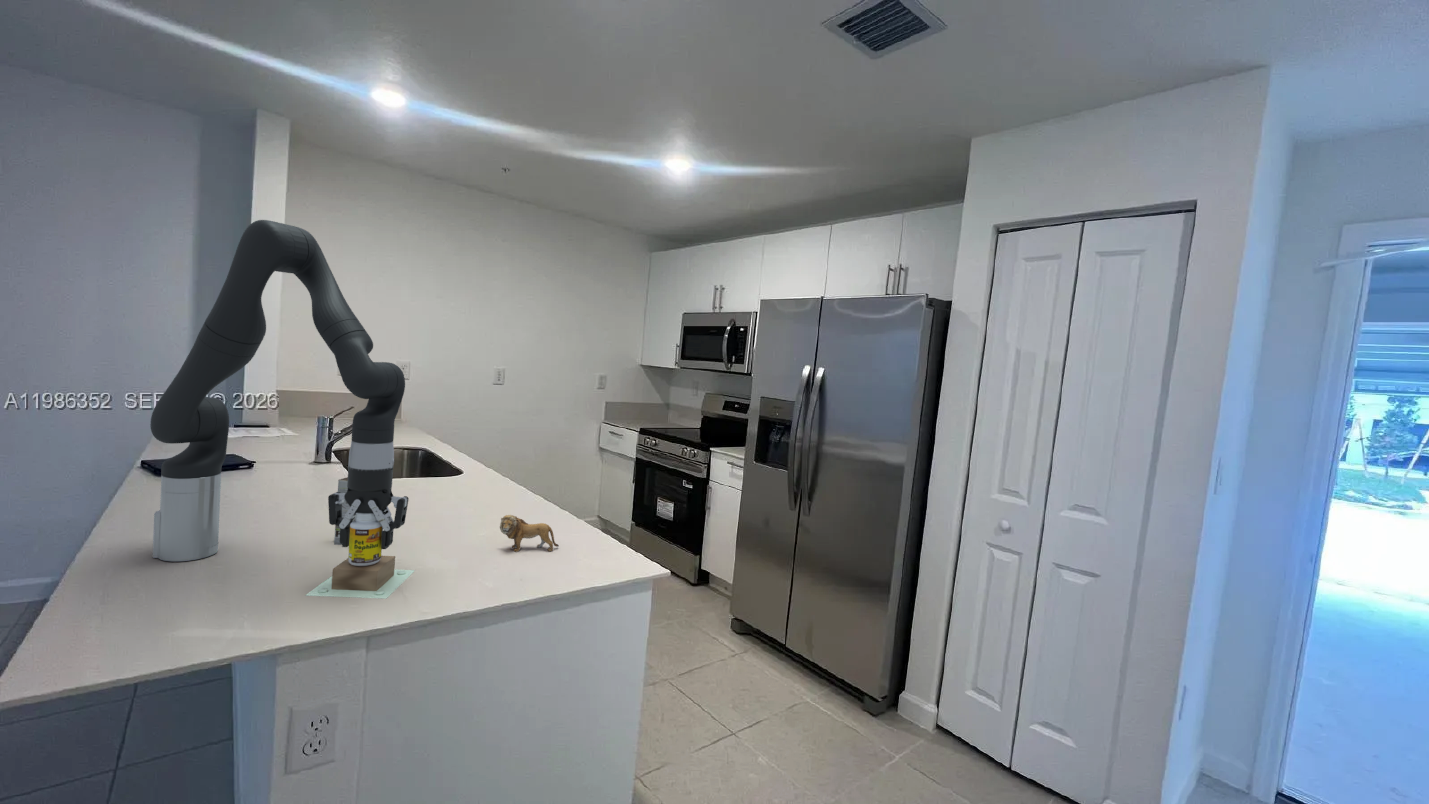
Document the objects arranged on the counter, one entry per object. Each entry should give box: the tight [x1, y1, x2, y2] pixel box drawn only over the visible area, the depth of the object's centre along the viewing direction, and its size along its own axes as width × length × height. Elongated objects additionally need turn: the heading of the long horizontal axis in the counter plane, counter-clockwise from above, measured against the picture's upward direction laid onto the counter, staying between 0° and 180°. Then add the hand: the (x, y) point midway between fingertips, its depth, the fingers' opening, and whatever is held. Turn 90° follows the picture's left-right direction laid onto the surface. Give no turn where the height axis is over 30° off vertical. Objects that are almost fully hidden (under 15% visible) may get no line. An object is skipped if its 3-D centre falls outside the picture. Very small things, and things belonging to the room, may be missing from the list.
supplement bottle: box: [347, 513, 384, 566], centre depth 111 cm, size 6×6×10 cm
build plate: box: [304, 568, 416, 600], centre depth 112 cm, size 14×14×2 cm
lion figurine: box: [499, 514, 560, 553], centre depth 142 cm, size 15×5×9 cm, turn 115°
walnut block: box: [331, 555, 396, 591], centre depth 112 cm, size 8×8×4 cm
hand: (366, 546), depth 112 cm, fingers open, 6 cm apart
